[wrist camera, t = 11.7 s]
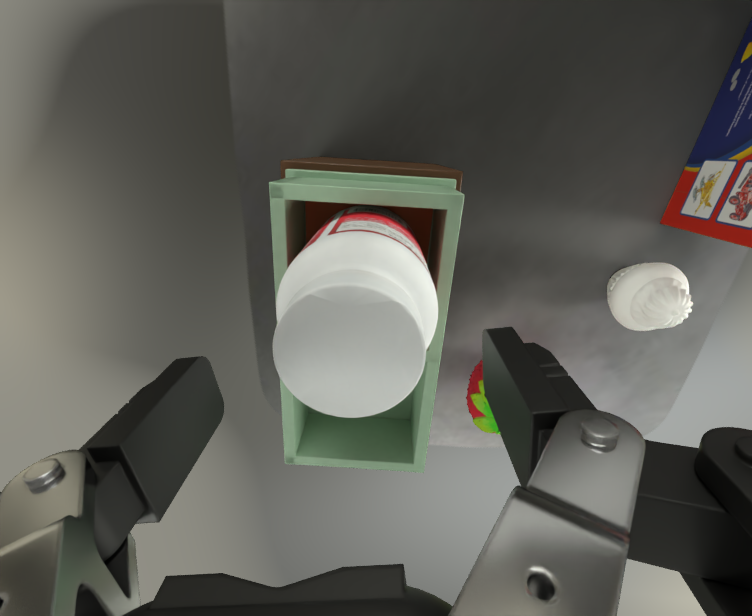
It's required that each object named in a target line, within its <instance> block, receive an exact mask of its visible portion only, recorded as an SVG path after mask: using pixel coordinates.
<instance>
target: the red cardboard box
mask: <svg viewBox="0 0 752 616" xmlns="http://www.w3.org/2000/svg"><path fill="white" fill-rule="evenodd" d="M660 224H663V225H667V226H671V227H675V228H678V229H682V230H686V231H690V232H693V233H697V234H701V235H705V236H708V237H712V238H716V239H720V240H723V241H727V242H731V243H734V244H738V245H742V246H746V247H749V248H752V19H751V21H750V23H749V25H748V28H747V30H746V32H745V34H744V37H743V39H742V41H741V43H740V46H739V48H738V50H737V52H736V55H735V57H734V59H733V61H732V63H731V66H730V68H729V70H728V72H727V75H726V77H725V79H724V81H723V84H722V86H721V88H720V90H719V92H718V95H717V97H716V99H715V101H714V104H713V106H712V108H711V110H710V113H709V115H708V117H707V119H706V121H705V124H704V126H703V128H702V130H701V133H700V135H699V137H698V139H697V142H696V144H695V146H694V148H693V150H692V153H691V155H690V157H689V159H688V162H687V164H686V166H685V168H684V171H683V173H682V175H681V177H680V179H679V181H678V184H677V186H676V188H675V190H674V193H673V195H672V197H671V199H670V201H669V204H668V206H667V208H666V210H665V213H664V215H663V217H662V219H661V222H660Z"/></svg>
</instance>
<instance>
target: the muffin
mask: <svg viewBox="0 0 752 616" xmlns="http://www.w3.org/2000/svg"><path fill="white" fill-rule="evenodd" d="M607 299H608V305H610V310H611V312H612V314H613V316H614V317H615V319H616V320H617V321H618V322H619V323H620V324H621V325H623V326H624V327H626V328H628V329H631V330H636V331H648V330H654V329H657V328H661V329H662V328H671V327H674V326H676V325H677V324H681V323H682V322H683V319H686V318H688V313H690V312H691V311H692V310H691V308H690V307H691V306H692V305H693V302H692V301H690V300H691V295H689V284H688V280H687V278H686V276H685V275H684V274H683V273H682V272H681V271H680V270H679V269H678V268H676V267H675V266H673V265H671V264H667V263H642V264H637V265H633V266H630V267H626V268H623V269H620V271H617V272H616V273H614V275H613V276H611V278H610V279H609V281H608V284H607Z"/></svg>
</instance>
